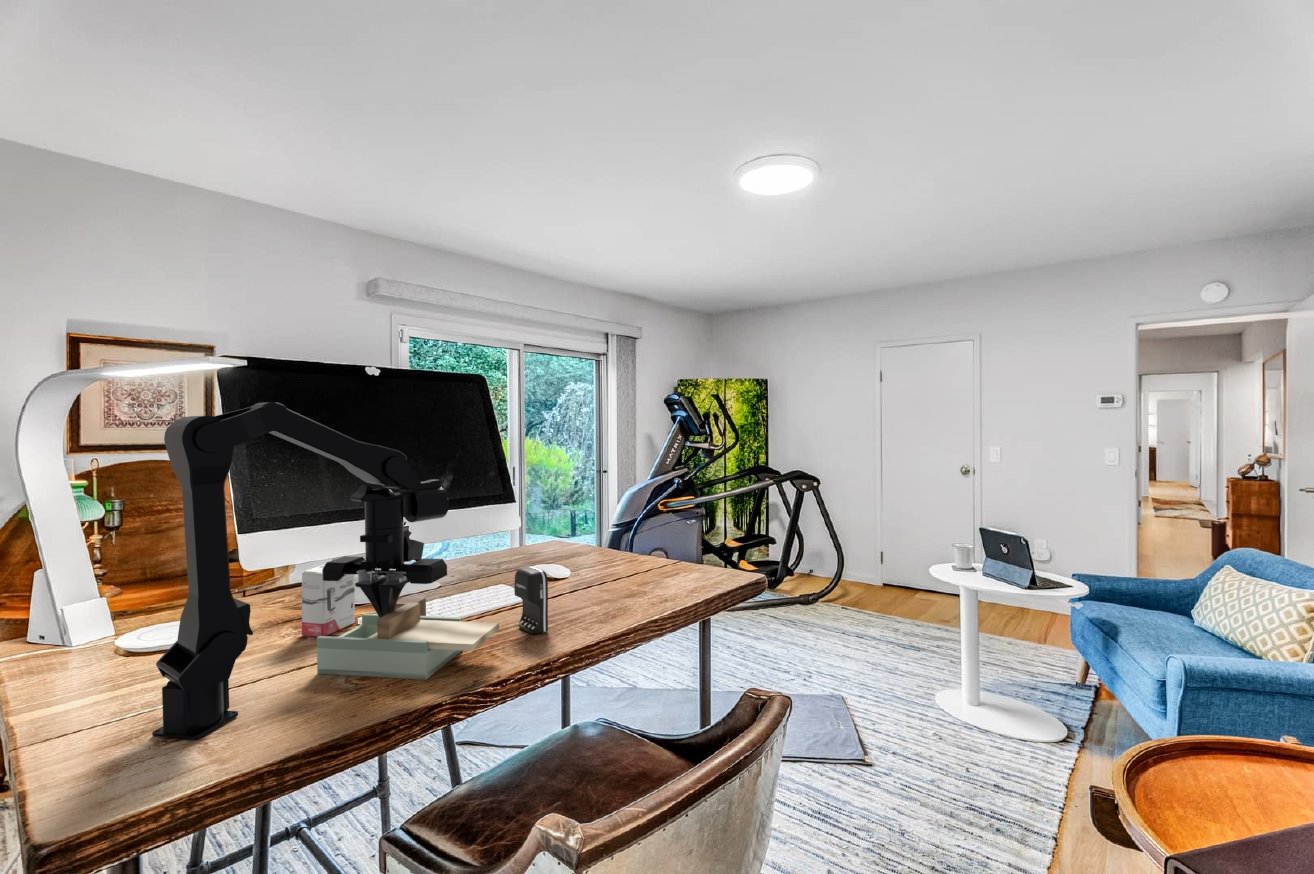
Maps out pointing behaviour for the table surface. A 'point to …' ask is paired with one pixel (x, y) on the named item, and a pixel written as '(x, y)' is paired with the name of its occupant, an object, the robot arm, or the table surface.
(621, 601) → the table surface
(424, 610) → the small brown rectangular block
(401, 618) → the lid
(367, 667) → the pale green tray
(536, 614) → the black handheld device
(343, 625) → the ink box
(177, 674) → the robot arm
